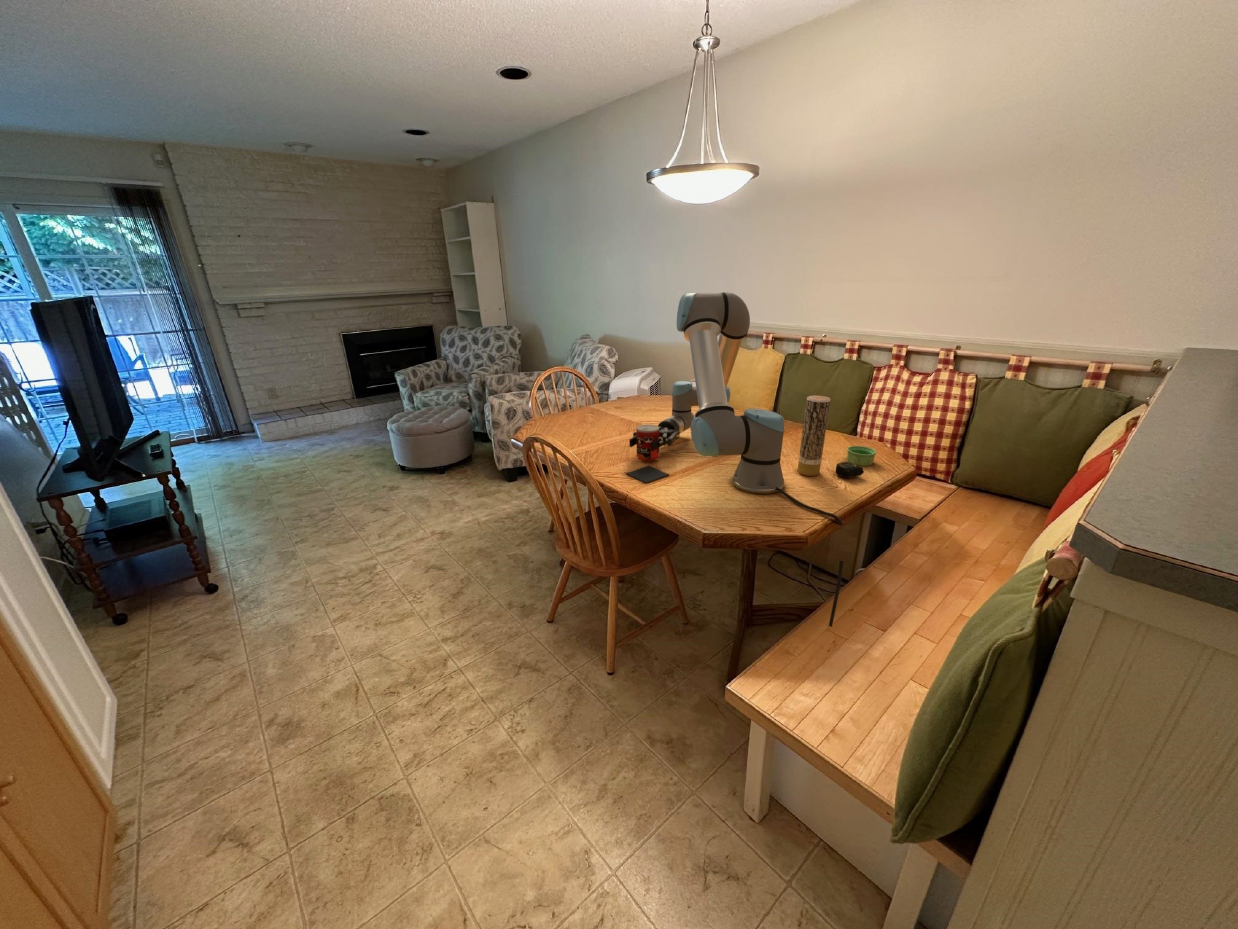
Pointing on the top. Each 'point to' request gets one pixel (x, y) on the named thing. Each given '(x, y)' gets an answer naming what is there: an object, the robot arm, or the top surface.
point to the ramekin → (860, 455)
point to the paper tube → (813, 435)
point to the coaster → (647, 474)
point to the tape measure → (848, 470)
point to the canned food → (647, 442)
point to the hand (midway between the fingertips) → (641, 445)
